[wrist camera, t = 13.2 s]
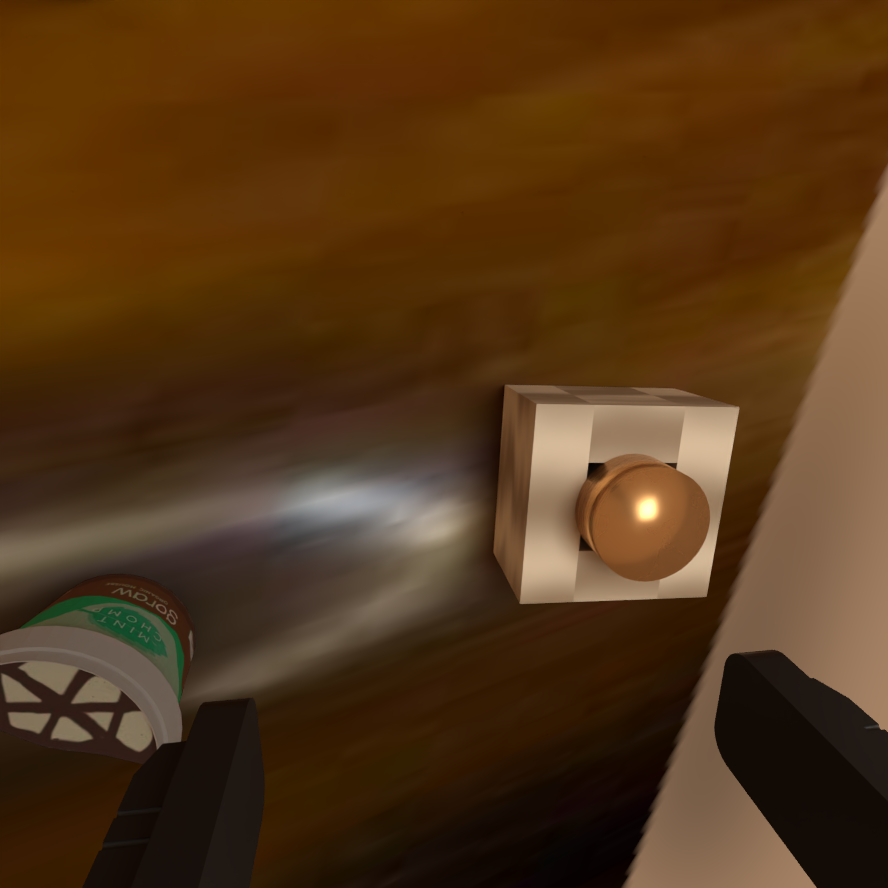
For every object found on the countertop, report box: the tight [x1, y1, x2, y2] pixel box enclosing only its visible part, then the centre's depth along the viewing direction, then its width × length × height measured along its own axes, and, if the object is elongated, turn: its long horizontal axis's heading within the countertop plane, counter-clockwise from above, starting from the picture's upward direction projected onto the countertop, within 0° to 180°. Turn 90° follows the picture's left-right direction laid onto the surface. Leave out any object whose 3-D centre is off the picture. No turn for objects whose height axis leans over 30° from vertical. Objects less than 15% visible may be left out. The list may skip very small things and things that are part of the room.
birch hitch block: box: [493, 385, 739, 604], centre depth 36 cm, size 12×12×7 cm
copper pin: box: [575, 454, 710, 582], centre depth 34 cm, size 6×6×10 cm
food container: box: [0, 574, 195, 764], centre depth 32 cm, size 12×6×10 cm, turn 65°
